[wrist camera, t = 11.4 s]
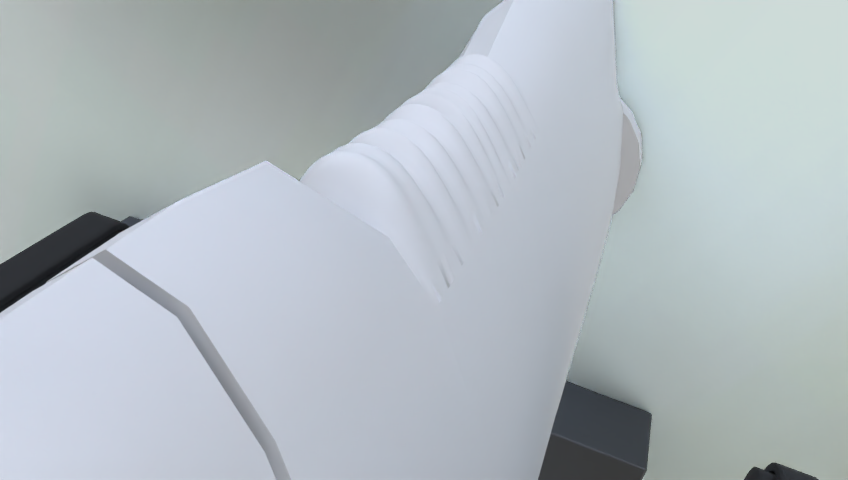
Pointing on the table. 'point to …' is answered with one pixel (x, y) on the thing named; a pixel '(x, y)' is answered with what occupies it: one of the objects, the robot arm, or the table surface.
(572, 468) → the hob
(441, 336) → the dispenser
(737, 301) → the table surface
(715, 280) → the table surface
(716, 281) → the table surface
